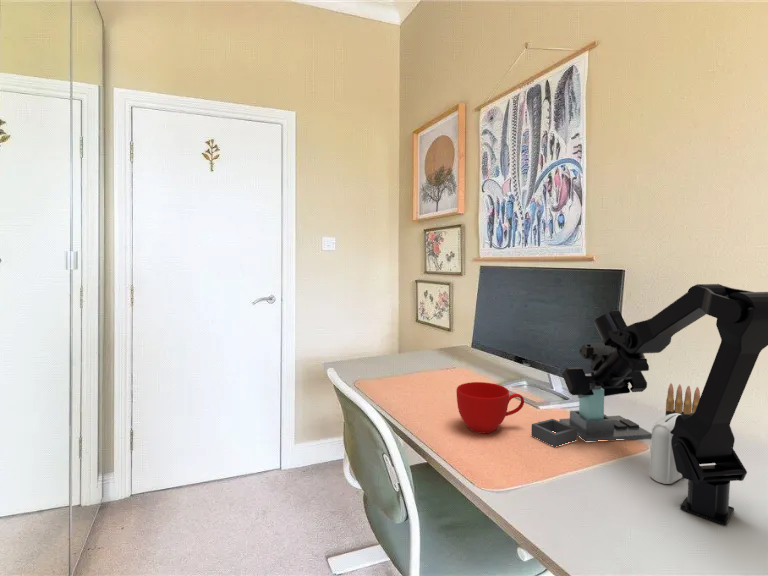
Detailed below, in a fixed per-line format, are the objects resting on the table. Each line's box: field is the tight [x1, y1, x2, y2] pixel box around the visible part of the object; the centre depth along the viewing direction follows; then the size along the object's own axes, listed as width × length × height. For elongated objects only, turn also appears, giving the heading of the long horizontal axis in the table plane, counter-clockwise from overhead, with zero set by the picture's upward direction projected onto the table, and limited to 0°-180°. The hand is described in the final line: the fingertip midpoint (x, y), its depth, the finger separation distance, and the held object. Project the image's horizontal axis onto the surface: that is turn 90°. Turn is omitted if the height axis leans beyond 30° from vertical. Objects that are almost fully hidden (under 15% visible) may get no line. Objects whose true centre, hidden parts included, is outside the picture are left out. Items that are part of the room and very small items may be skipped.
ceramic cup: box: [455, 381, 525, 434], centre depth 111 cm, size 13×17×10 cm
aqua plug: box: [578, 373, 605, 420], centre depth 109 cm, size 4×4×13 cm
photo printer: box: [649, 413, 683, 485], centre depth 87 cm, size 10×4×12 cm, turn 123°
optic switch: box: [558, 409, 652, 442], centre depth 110 cm, size 12×17×4 cm
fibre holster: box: [530, 418, 578, 448], centre depth 105 cm, size 7×7×3 cm
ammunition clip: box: [664, 382, 701, 416], centre depth 107 cm, size 11×2×12 cm, turn 55°
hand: (588, 395), depth 110 cm, fingers open, 5 cm apart
